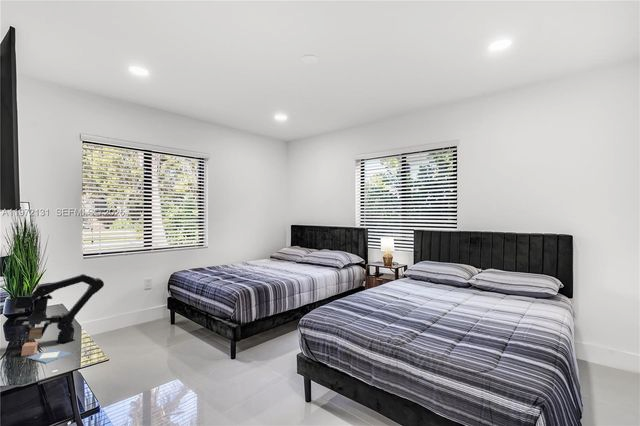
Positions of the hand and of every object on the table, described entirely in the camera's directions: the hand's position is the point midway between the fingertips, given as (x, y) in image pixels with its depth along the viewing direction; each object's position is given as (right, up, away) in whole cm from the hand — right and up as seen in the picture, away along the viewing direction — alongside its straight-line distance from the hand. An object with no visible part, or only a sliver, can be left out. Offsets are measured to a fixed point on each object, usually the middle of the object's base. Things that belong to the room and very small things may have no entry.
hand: (36, 335), depth 172 cm
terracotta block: (+5, -6, -10) cm, 13 cm away
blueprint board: (+17, -6, -11) cm, 21 cm away
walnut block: (0, -1, 0) cm, 1 cm away
